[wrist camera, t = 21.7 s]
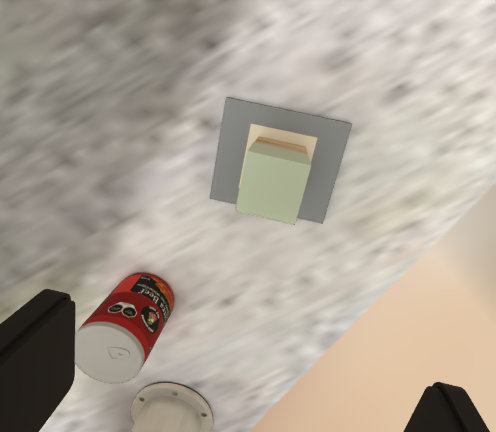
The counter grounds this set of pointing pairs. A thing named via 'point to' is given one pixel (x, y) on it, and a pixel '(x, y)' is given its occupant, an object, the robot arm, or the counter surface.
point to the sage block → (273, 183)
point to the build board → (287, 130)
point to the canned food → (123, 329)
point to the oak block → (282, 145)
